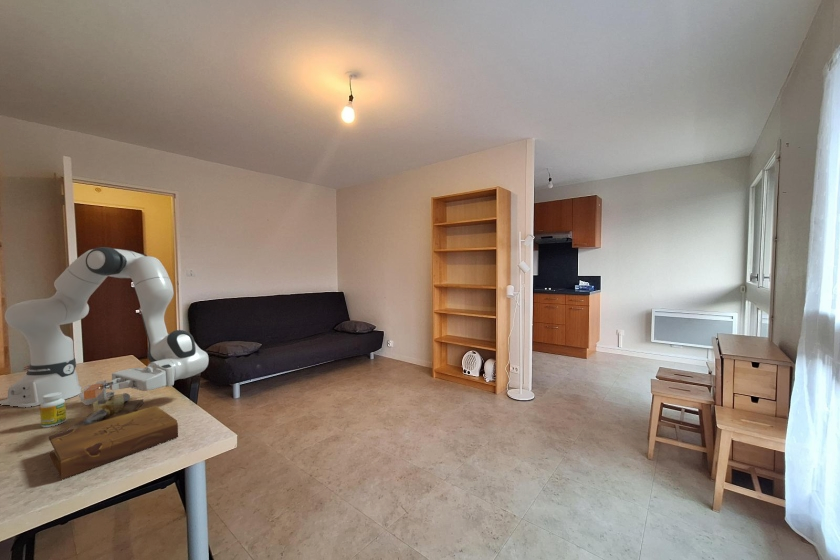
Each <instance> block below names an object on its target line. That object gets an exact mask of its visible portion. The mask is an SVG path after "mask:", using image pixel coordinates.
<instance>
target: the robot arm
mask: <svg viewBox="0 0 840 560" xmlns="http://www.w3.org/2000/svg"><path fill="white" fill-rule="evenodd" d="M108 277H110V278H111V277H112V278H117V279H118V278H119V279H131V280H132V284H133V287H134V290H135V293H136V295H137V299H138V302H139V307H140V313H141V318H142V322H143V326H144V330H145V334H146V338H147V342H148V349H147V352H146V353H147V359H148V361H149V363H148V365H147V366H146V367H133V368H127V369H122V370H118V371H115V372H112V374H111V380H110V381H106V383H104V388H106V390H111V391H112V392H115V391H118V390H122V389H123V390H124V389H129V388H131V389H134V390H139V391H141V392H148V391H152V390H156V389H160V388H164V387H166V388H169V387H171V386H172V387H173V386H174V384H175V381H177V380H182V379H183V380H184V379H187V378H190V377H193V376H195V375H198V374H201V373H202V372H204V371H205V370H206V369H207V368H208V366H209V363H210V362H209V360H210V359H209V355H208V352H207V351H205V350H203V349H201V348H200V347H199V345H198V344H197V343H196V341H195V339H194V337H193V335H192V334H191V333H190V332H189V331H187V330H183V329H177V330H173V331H171V332H169V333H168V330H167V326H166V323H165V314H166V311H167V308H168V306H169V305H170V303H171V302H172V300H173V298H174V286H173V283H172V281H171V278H170V276H169V274H168V271H167V269H166V268H165V267H164V265H163V263H162V262H161V260H159V258H157V257H155V256H149V255H146V254H144V253H138V252H135V251H133V250H128V249H120V248H112V247H106V246H105V247H104V246H102V247H101V246H100V247H95V248H92V249H89V250H87V251H85V252H84V253H82V254H81V255H79V256H78V257H77V258H76V259H75V260H74V261H72V262H71V263H70V264H69V266H67V267H66V268H65V270H64V271H63V272H62V273H61V274H60V275H59V276H58V277H57V278H56V279H55V281H54V283H53V285H54V288H55V290H56V291H55V293H54V295H52V296H50V297H47V298H38V299H36V298H35V299H29V300H24V301H21V302H18V303H14V304H11V305H10V306H8V308H7V309H6V310H5V313H4V319H5V322H6V323H7V325H8V326H9V327H10V328H12V329H15V330H17V331H19V332H20V333H21V335H23V337H24V339H25V340H26V341H27V344H28V347H29V354H30V355H29V356H30V365H26V366H23V368H24V369H23V371H26V374H25V375H24V376H23V377H21V378H20V379H19V380H17V381H15V382H14V383H12V384H11V385H10V386H9V387H8V389H7V397H6V398H4V399H2V400H0V404H3V405H10V406H9V407H13V406H18V407H17V408H25V407H26V408H31V406H32V407H35V406H39V405H41V404H42V403H43V402H44V401H43V396H45V395H47V394H51V393H58V392H61V393H62V397H61V398H62V399H64V400H67V399H70V398H73V397H76V396H79V395H80V394H81V393H82V392H83V390H82V385H80V382H79V377H78V371H77V370H76V368H77V361H76V358H75V353H74V351H75V350H74V340H73V338H71V337H70V336H68V335H66V334H64V333H63V331H62V329H61V325H68V324H72V323H75V322H78V321H80V320H83V319H84V318H85V317H86V316H88V314H89V311H90V306H89V304H88V301H89V299H90V297H91V295H93V294H94V292H95V291H96V290H97V289H98V288H99V287H100V286H101V285H102V283H103V282H105V280H106V279H107V278H108Z"/></svg>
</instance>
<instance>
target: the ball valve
mask: <svg viewBox="0 0 840 560" xmlns="http://www.w3.org/2000/svg"><path fill="white" fill-rule="evenodd" d="M130 399H131V396H130V394H129V393H127V392H126V393H125V392H124V393H120V394H114V397H112V398H110V399H109V400H108V401H107V402H106V403H105V404H99V405H98V400H97V401H96V402H94V403H93V404H92V405H93V412H94V413H93V412H92V413H93V414H92V415H91V416H89V417H88V418H86V419H85V421H84V424H85V425H90V424H93V423H97V422H99V421H101V420H102V419H104V418H107V417H109V416H114V415H115V414H117V413H118V412H119V411H121V410H122V409H123V408H124V403H125V402H126V401H130Z"/></svg>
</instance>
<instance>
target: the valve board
mask: <svg viewBox="0 0 840 560" xmlns="http://www.w3.org/2000/svg"><path fill="white" fill-rule="evenodd" d="M144 403H145V401H144V399H143V398H142V399H141V398H140V399H132V400H128V401H126V402H125V403H124V408H123V409H122V410H121V411H119V412H118V413H117V414H115V415H114V416H109V417H107V418H104V419H102V420H101V421H104V420H107V419H111V418H114V417H118V416H121V415H125V414H128V413H132V412H135V411H136V410H137V409H139V408H140V407H141V406H142V405H143V404H144ZM93 413H94V411H92V412H91V413H90V414H88V415H87V416H85V417H84V418H82V419H80V420H79V421H78V422H76V423H75V424H74V425H72V426H71V427H69V428H68V429H67V430H66V431H69V430H72V429H76V428H79V427H83V426H86V425H85V424H84V421H85V419H86V418H88V417H89V416H91V415H92V414H93ZM99 422H100V421H99Z"/></svg>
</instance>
